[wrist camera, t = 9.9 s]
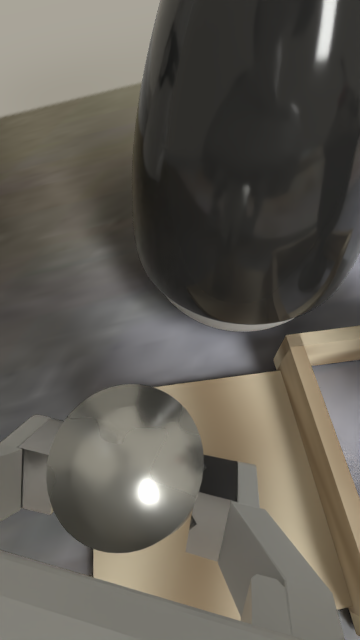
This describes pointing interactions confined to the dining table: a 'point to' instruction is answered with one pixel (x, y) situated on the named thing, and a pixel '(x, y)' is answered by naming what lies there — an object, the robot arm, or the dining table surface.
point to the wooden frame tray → (187, 470)
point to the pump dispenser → (249, 157)
